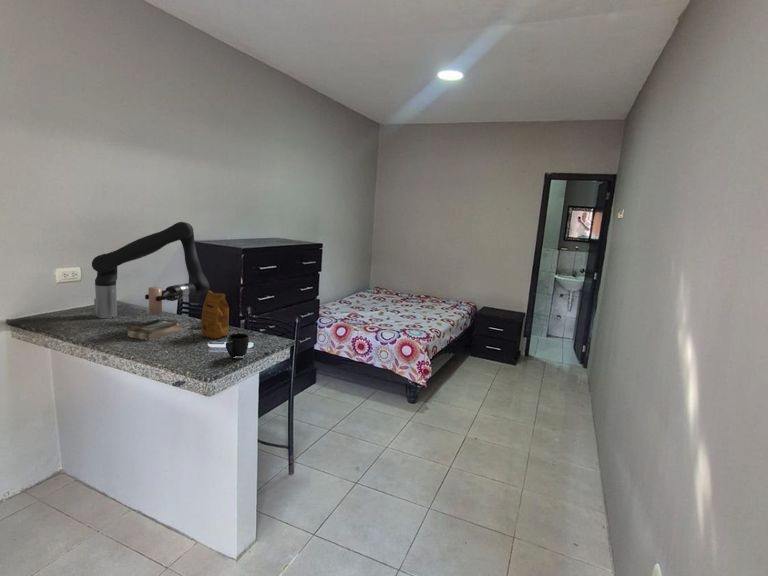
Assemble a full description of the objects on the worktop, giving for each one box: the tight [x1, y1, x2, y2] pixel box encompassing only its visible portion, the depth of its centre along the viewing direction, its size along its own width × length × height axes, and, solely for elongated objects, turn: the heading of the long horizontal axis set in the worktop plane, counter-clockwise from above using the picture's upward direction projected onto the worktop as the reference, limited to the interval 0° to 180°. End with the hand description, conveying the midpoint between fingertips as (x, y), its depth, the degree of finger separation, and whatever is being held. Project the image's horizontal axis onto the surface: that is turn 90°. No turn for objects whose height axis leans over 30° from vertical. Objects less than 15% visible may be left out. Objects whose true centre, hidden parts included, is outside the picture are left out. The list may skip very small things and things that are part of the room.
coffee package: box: [200, 290, 230, 340], centre depth 204 cm, size 10×12×22 cm
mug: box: [225, 332, 250, 359], centre depth 177 cm, size 8×12×10 cm
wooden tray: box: [126, 318, 182, 341], centre depth 201 cm, size 12×20×5 cm, turn 165°
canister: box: [148, 286, 163, 315], centre depth 199 cm, size 6×6×12 cm
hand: (151, 298), depth 196 cm, fingers closed on canister, 5 cm apart
